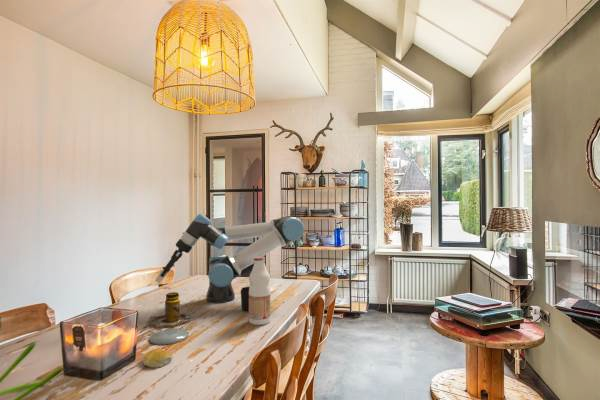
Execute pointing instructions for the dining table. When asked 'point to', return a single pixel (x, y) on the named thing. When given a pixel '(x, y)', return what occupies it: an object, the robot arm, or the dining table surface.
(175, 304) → the condiment
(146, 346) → the dining table surface
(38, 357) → the dining table surface
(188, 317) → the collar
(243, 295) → the pen holder
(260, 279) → the fruit juice
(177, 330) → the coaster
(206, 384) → the dining table surface
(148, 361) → the mossy stone
